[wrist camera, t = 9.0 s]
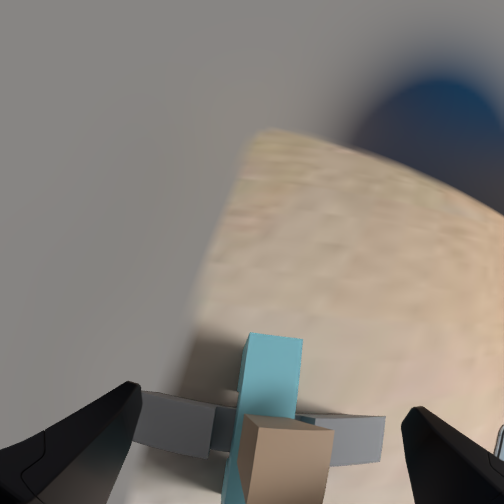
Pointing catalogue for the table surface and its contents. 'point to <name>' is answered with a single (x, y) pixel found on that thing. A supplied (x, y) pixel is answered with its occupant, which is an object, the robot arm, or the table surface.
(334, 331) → the table surface
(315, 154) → the table surface
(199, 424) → the slotted bar
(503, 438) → the smartphone
